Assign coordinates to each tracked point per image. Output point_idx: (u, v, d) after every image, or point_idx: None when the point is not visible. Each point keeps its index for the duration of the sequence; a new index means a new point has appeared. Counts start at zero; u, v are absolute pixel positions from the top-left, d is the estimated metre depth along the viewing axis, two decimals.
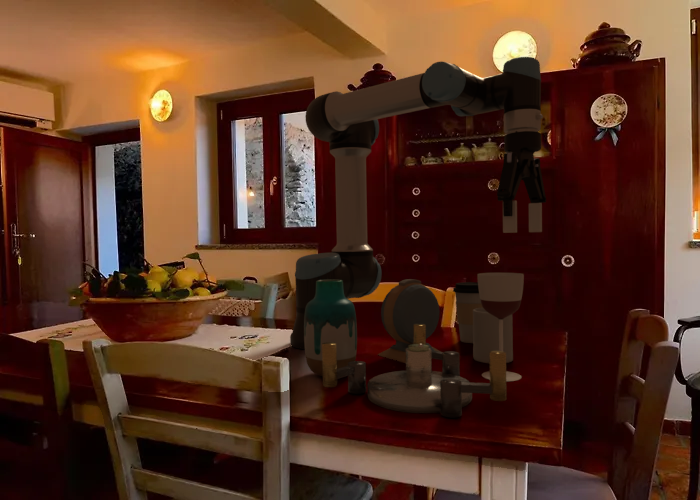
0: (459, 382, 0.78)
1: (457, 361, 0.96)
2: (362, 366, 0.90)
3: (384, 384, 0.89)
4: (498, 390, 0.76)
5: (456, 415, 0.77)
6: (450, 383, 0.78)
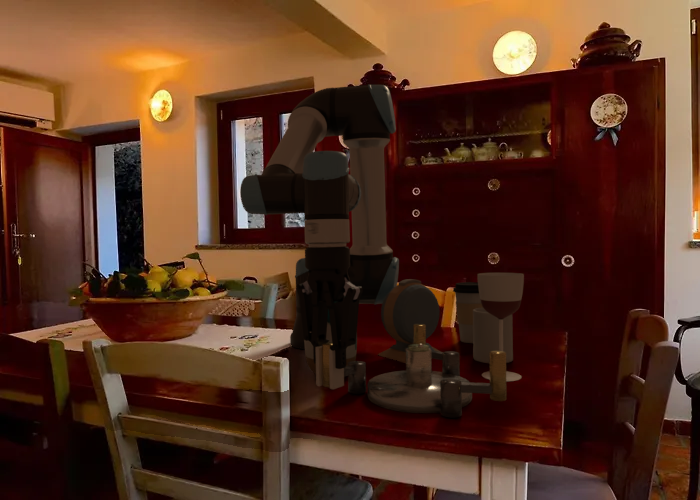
0: (459, 382, 0.78)
1: (457, 361, 0.96)
2: (362, 366, 0.90)
3: (384, 384, 0.89)
4: (498, 390, 0.76)
5: (456, 415, 0.77)
6: (450, 383, 0.78)
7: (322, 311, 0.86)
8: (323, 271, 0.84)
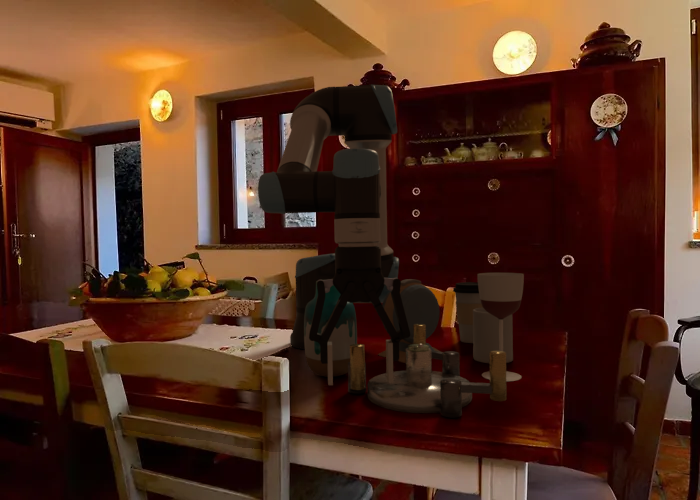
0: (459, 382, 0.78)
1: (457, 361, 0.96)
2: (365, 365, 0.91)
3: (384, 384, 0.89)
4: (498, 390, 0.76)
5: (456, 415, 0.77)
6: (450, 383, 0.78)
7: None
8: (359, 271, 0.82)
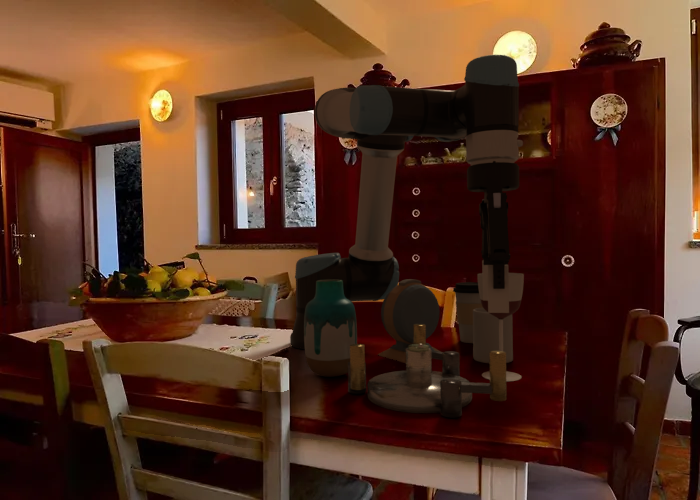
0: (459, 382, 0.78)
1: (457, 361, 0.96)
2: (365, 365, 0.91)
3: (384, 384, 0.89)
4: (498, 390, 0.76)
5: (456, 415, 0.77)
6: (450, 383, 0.78)
7: None
8: None
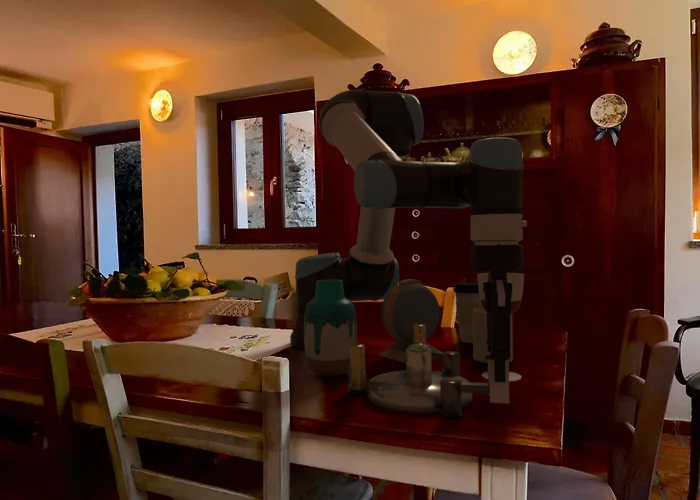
0: (459, 382, 0.78)
1: (457, 361, 0.96)
2: (365, 365, 0.91)
3: (384, 384, 0.89)
4: None
5: (456, 415, 0.77)
6: (450, 383, 0.78)
7: None
8: None
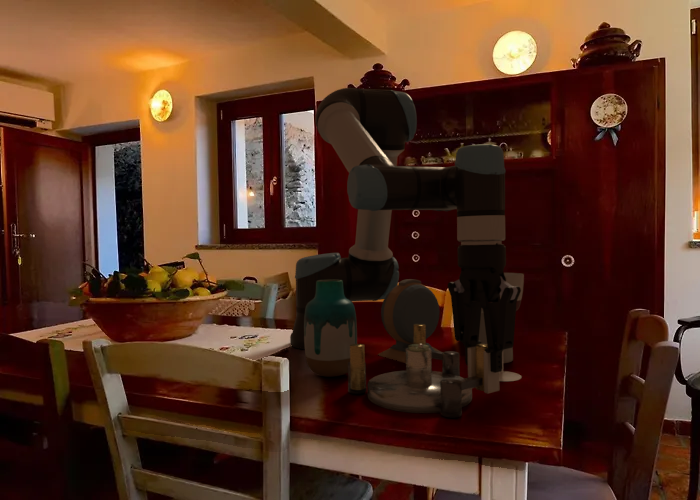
0: (458, 380, 0.79)
1: (457, 361, 0.96)
2: (365, 365, 0.91)
3: (384, 384, 0.89)
4: None
5: (461, 413, 0.78)
6: (454, 383, 0.78)
7: None
8: None
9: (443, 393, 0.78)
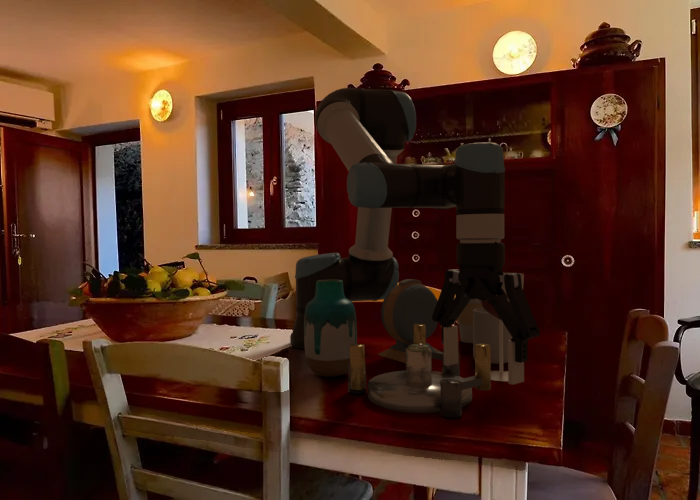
0: (457, 380, 0.79)
1: None
2: (365, 365, 0.91)
3: (384, 384, 0.89)
4: (488, 380, 0.81)
5: (461, 413, 0.78)
6: (454, 383, 0.78)
7: None
8: None
9: (443, 393, 0.78)
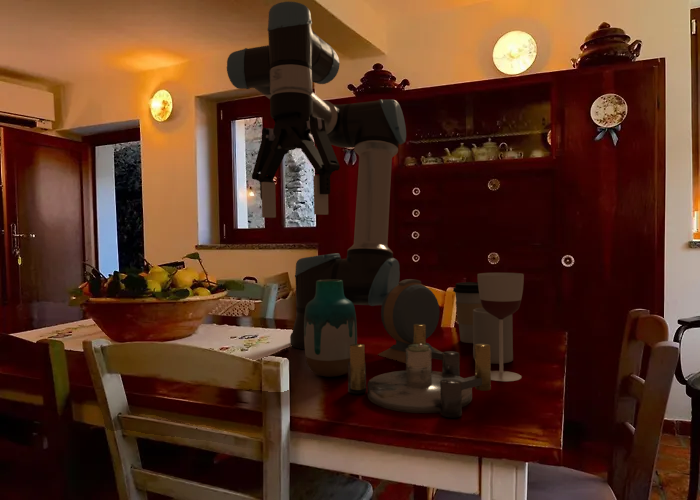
0: (457, 380, 0.79)
1: (457, 361, 0.96)
2: (365, 365, 0.91)
3: (384, 384, 0.89)
4: (488, 380, 0.81)
5: (461, 413, 0.78)
6: (454, 383, 0.78)
7: (277, 157, 0.93)
8: (287, 119, 0.90)
9: (443, 393, 0.78)
